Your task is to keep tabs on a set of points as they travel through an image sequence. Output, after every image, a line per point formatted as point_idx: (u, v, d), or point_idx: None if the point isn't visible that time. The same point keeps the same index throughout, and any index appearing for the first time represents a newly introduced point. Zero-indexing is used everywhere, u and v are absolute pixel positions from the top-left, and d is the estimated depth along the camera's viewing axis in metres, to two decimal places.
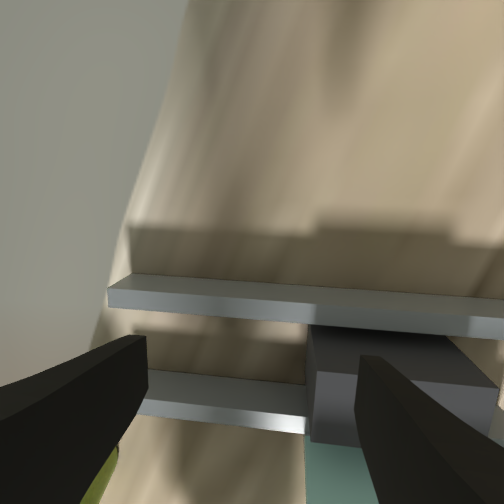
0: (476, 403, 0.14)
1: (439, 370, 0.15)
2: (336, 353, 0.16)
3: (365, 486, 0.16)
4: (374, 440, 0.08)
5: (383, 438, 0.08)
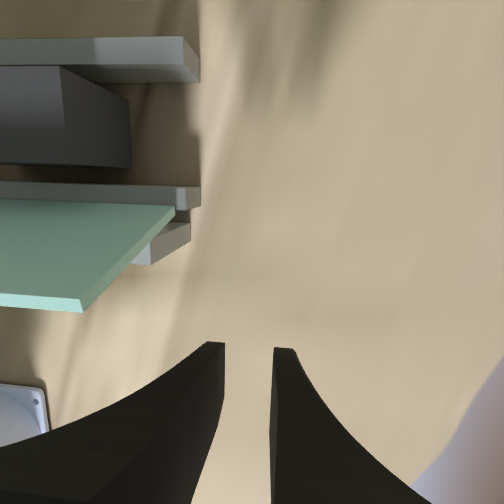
0: (43, 87, 0.14)
1: None
2: None
3: None
4: (271, 428, 0.08)
5: (273, 425, 0.08)
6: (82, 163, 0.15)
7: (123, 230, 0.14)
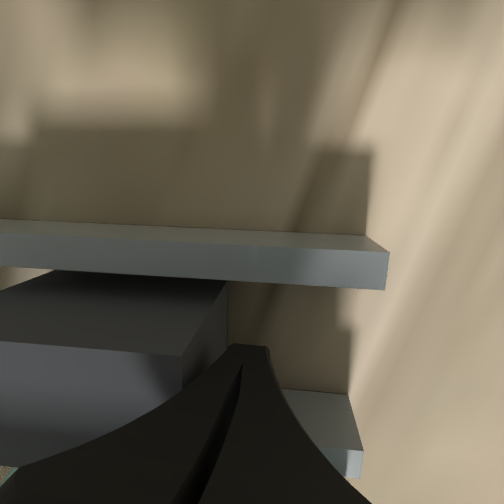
0: (151, 384, 0.08)
1: (122, 330, 0.09)
2: None
3: None
4: None
5: None
6: None
7: None
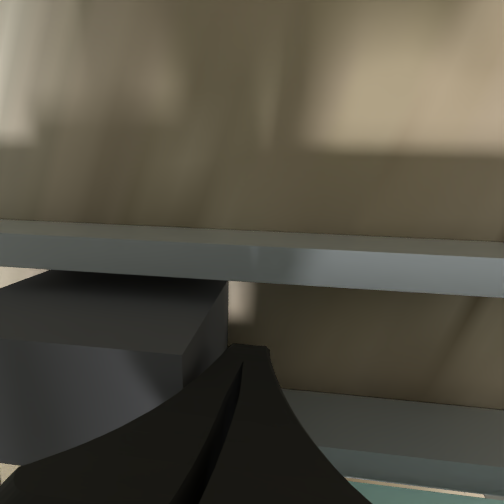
0: (151, 382, 0.08)
1: (122, 328, 0.09)
2: None
3: None
4: None
5: None
6: None
7: None
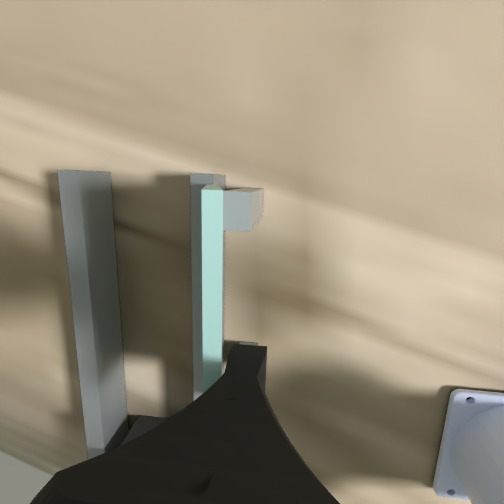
0: None
1: None
2: None
3: None
4: None
5: None
6: None
7: None
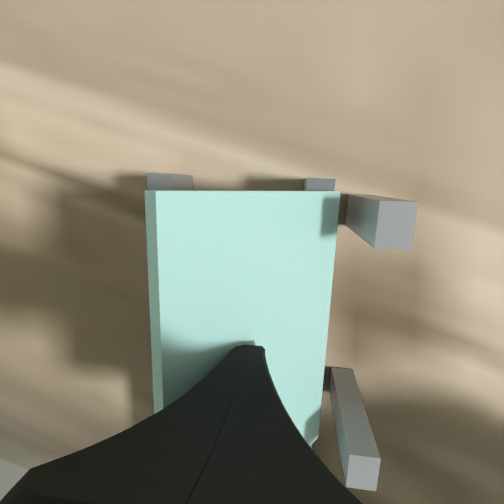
0: None
1: None
2: None
3: None
4: None
5: None
6: None
7: None
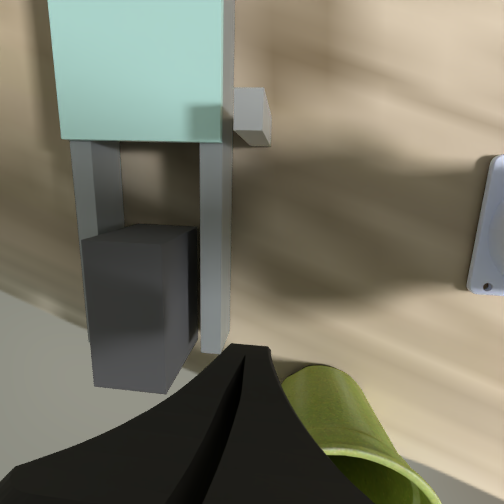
0: (99, 257, 0.15)
1: None
2: None
3: None
4: None
5: None
6: (168, 240, 0.16)
7: None
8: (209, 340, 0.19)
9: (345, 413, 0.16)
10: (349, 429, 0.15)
